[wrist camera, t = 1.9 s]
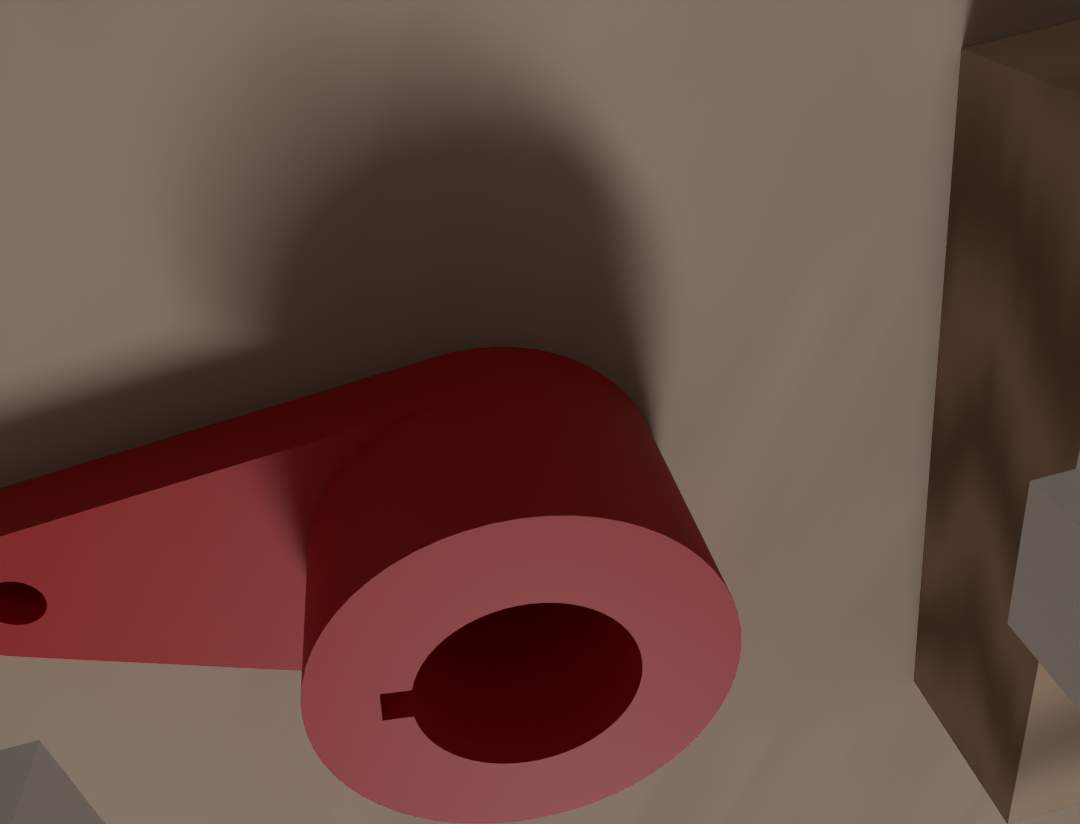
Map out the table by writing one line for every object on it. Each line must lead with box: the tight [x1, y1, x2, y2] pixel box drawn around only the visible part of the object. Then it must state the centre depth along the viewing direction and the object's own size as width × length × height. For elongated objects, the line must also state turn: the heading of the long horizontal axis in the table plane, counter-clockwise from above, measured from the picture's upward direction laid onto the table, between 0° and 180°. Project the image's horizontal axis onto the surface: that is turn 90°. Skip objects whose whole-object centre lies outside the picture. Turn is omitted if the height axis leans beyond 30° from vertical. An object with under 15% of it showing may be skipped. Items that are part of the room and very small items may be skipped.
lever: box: [0, 347, 741, 824], centre depth 22 cm, size 18×9×7 cm, turn 89°
